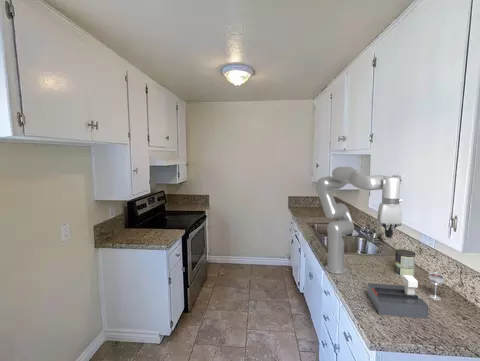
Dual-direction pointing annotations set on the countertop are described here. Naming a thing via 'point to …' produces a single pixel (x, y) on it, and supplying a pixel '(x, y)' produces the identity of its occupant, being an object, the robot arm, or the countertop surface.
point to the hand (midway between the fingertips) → (388, 237)
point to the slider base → (396, 301)
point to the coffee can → (404, 262)
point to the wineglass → (436, 282)
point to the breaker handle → (410, 284)
